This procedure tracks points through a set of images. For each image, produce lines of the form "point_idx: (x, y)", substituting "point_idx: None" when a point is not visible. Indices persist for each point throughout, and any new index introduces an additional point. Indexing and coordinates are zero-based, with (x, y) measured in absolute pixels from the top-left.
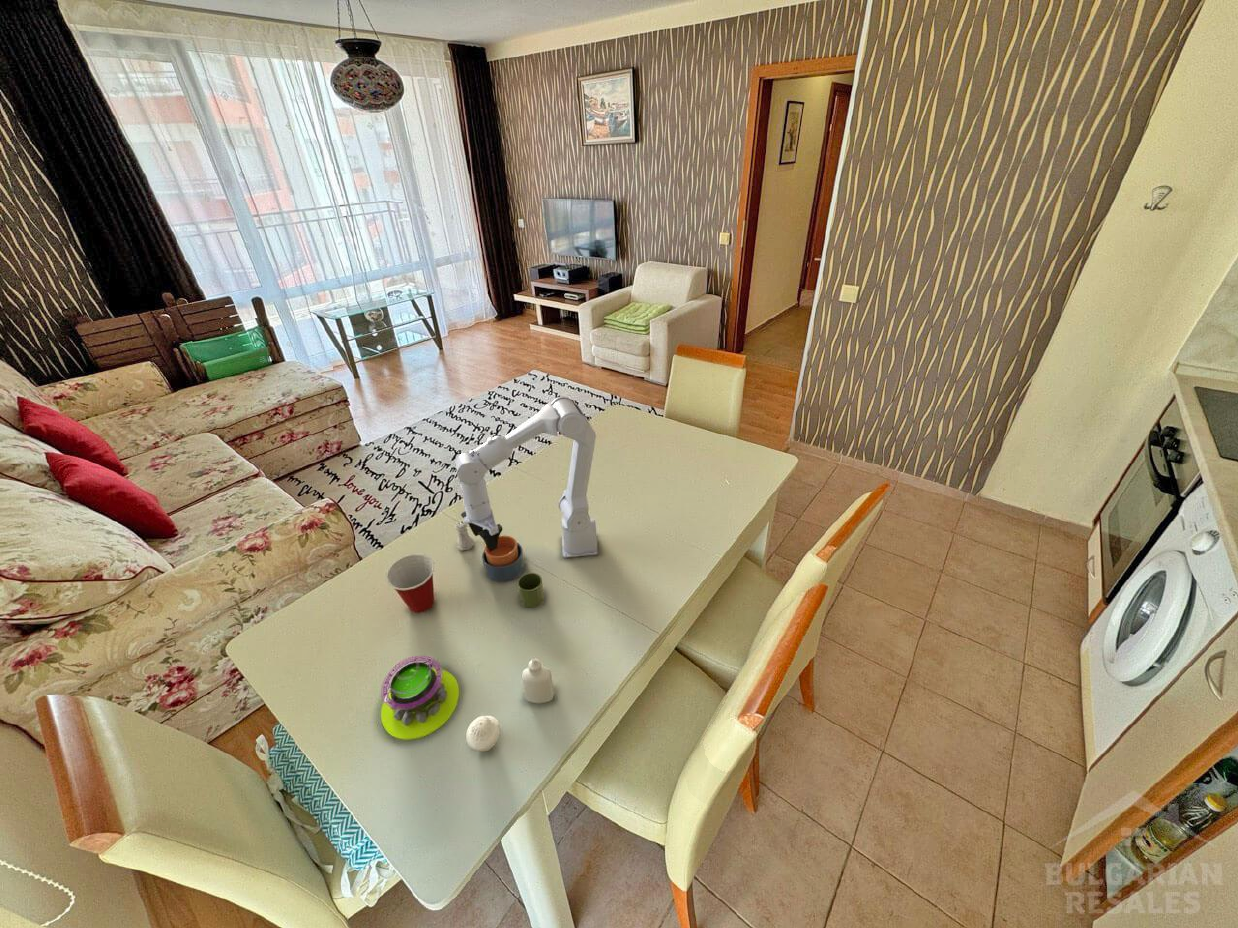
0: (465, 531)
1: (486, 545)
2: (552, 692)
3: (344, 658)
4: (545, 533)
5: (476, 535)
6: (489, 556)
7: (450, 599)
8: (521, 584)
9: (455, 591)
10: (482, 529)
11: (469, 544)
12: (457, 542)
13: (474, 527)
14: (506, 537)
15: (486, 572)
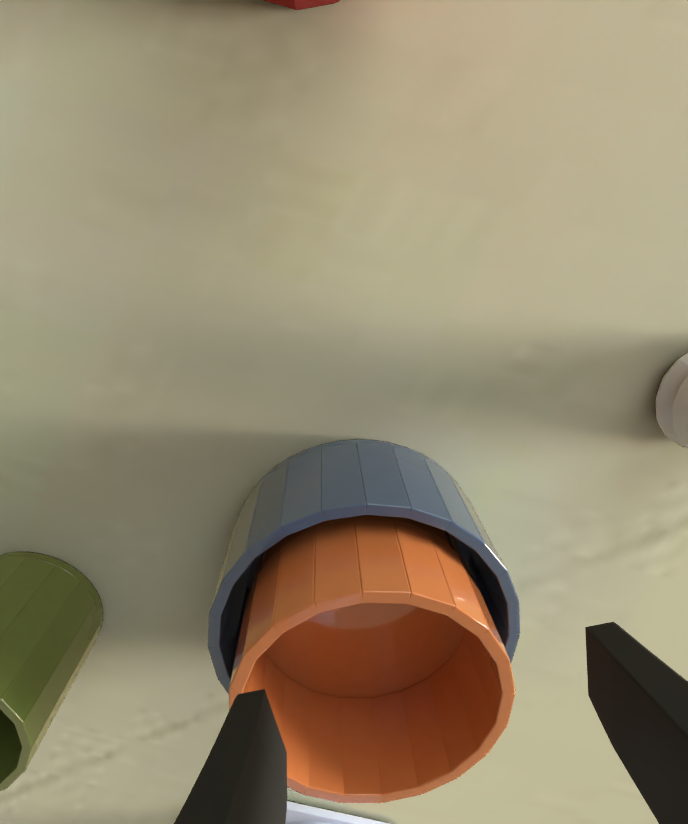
0: None
1: (220, 785)
2: None
3: None
4: (487, 775)
5: (590, 640)
6: (304, 599)
7: (236, 148)
8: (22, 649)
9: (301, 206)
10: (616, 744)
11: (679, 426)
12: None
13: (677, 764)
14: (460, 753)
15: (332, 457)
